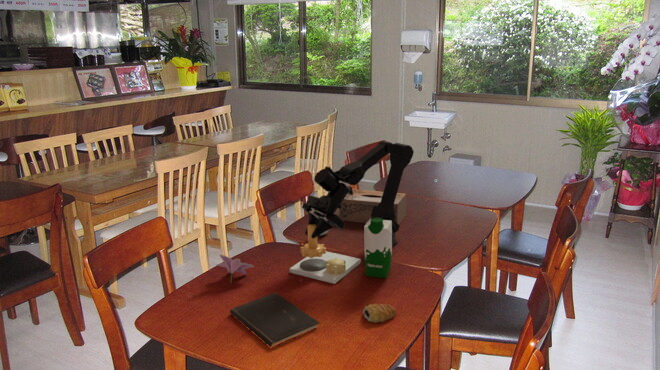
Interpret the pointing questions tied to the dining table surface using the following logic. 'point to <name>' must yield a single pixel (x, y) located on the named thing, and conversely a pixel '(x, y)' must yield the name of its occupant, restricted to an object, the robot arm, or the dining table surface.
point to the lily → (234, 265)
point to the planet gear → (312, 245)
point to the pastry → (379, 312)
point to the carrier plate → (326, 267)
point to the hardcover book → (274, 318)
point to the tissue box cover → (368, 206)
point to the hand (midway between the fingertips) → (309, 236)
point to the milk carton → (378, 247)
